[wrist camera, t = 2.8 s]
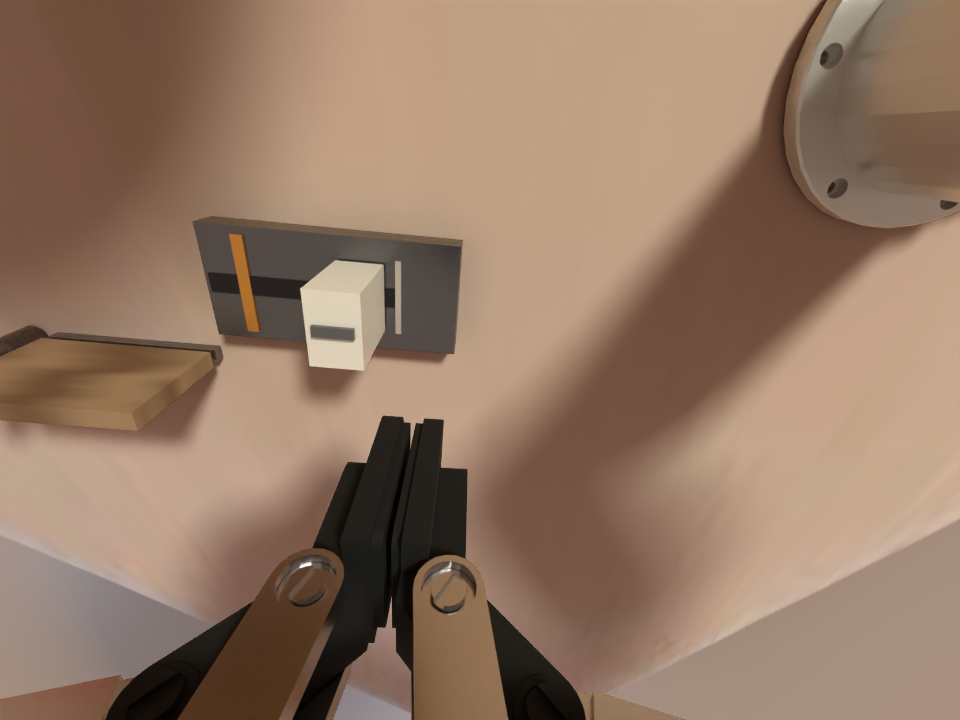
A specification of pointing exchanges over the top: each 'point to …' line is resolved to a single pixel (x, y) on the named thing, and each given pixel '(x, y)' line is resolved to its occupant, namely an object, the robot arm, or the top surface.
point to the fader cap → (344, 314)
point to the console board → (309, 250)
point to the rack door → (94, 382)
